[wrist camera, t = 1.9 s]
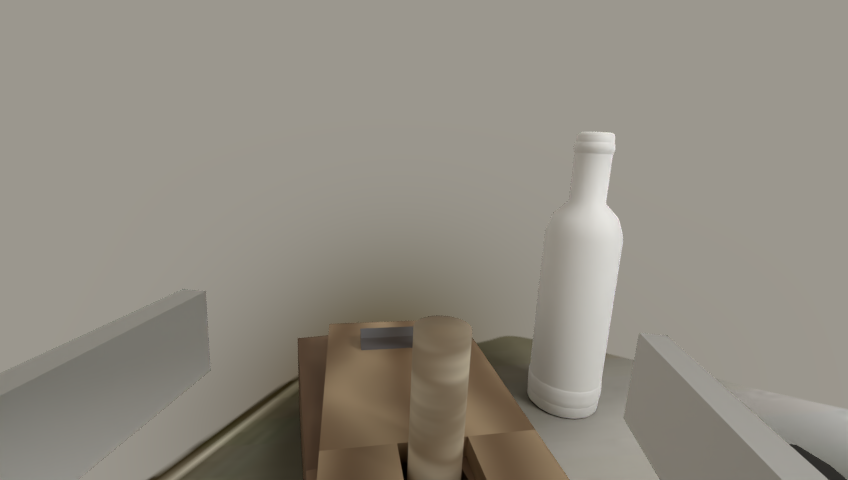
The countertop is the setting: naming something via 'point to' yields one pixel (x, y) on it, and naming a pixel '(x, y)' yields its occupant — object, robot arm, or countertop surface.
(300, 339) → the toolbox
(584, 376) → the bottle
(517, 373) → the countertop surface
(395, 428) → the toolbox lid
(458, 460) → the pin
